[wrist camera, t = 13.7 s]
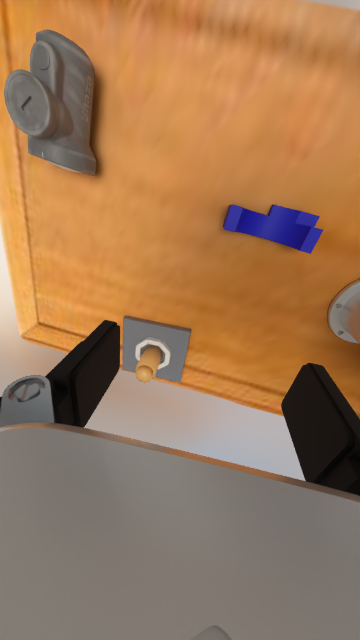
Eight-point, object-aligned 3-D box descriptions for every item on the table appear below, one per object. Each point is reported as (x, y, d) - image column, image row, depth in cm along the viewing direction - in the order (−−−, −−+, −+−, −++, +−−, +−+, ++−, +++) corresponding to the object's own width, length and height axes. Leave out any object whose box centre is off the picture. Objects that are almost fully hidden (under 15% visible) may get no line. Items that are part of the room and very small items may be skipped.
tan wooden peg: (163, 347, 44) (154, 371, 38) (161, 361, 46) (152, 386, 40) (145, 343, 45) (133, 366, 38) (144, 357, 47) (132, 381, 40)
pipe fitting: (104, 183, 33) (62, 173, 24) (55, 163, 33) (-5, 146, 24) (117, 78, 27) (69, 13, 18) (58, 54, 27) (-20, -25, 18)
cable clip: (310, 216, 31) (330, 217, 26) (295, 246, 33) (310, 253, 28) (232, 194, 31) (236, 190, 26) (222, 226, 33) (223, 229, 28)
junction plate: (191, 329, 43) (189, 334, 41) (181, 378, 50) (179, 385, 48) (125, 315, 44) (121, 320, 42) (124, 366, 50) (120, 372, 48)
